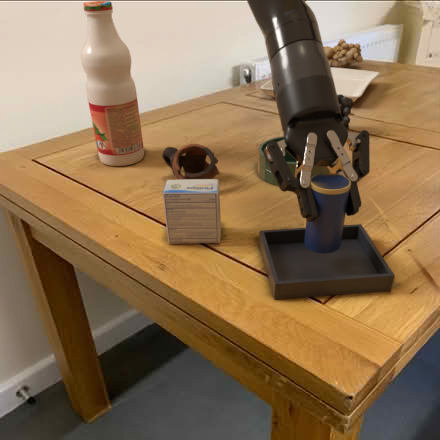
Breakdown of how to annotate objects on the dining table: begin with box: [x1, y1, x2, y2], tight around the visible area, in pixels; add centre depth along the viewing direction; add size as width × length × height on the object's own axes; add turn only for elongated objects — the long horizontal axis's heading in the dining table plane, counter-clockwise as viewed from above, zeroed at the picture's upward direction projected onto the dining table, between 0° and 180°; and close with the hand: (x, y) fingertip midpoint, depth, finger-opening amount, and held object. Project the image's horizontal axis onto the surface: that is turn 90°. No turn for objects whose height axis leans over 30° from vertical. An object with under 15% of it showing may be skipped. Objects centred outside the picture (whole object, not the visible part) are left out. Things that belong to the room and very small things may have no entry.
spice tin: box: [304, 173, 351, 253], centre depth 60 cm, size 5×5×9 cm
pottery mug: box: [161, 143, 221, 180], centre depth 86 cm, size 12×10×8 cm
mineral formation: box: [323, 38, 364, 68], centre depth 154 cm, size 8×13×15 cm
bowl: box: [257, 135, 331, 188], centre depth 88 cm, size 14×14×5 cm
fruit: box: [337, 94, 356, 132], centre depth 105 cm, size 9×8×15 cm
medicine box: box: [162, 178, 222, 245], centre depth 69 cm, size 8×4×9 cm, turn 88°
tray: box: [258, 223, 395, 300], centre depth 64 cm, size 15×13×2 cm
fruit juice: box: [80, 0, 145, 167], centre depth 89 cm, size 9×9×28 cm
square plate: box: [259, 66, 380, 103], centre depth 132 cm, size 27×27×4 cm
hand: (333, 216), depth 58 cm, fingers closed on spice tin, 5 cm apart
